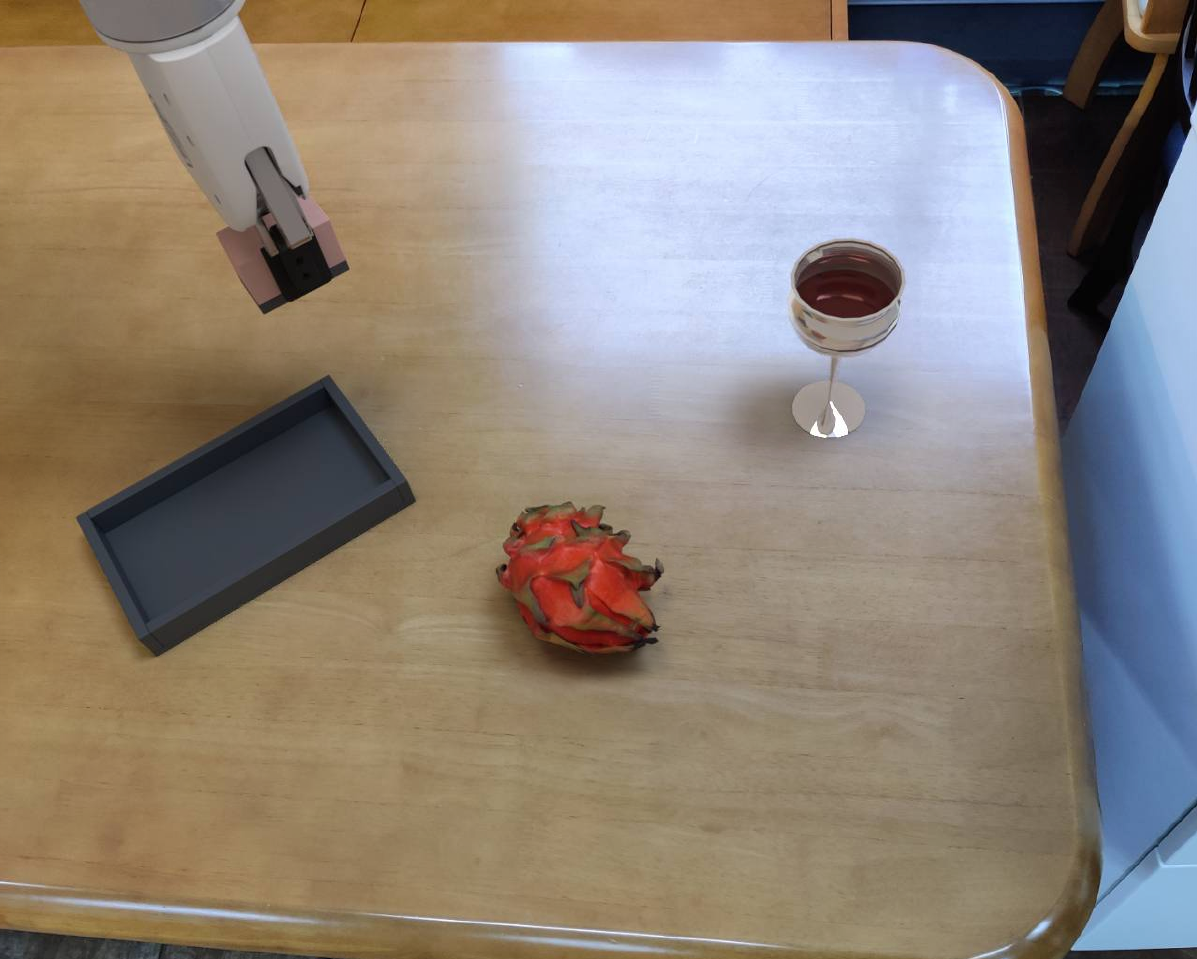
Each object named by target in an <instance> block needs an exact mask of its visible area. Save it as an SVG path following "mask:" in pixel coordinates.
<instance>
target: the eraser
mask: <svg viewBox="0 0 1197 959" xmlns="http://www.w3.org/2000/svg"><path fill="white" fill-rule="evenodd" d="M296 197H297V199H298V201H299V203H300V206H301V208H302V210H303V212H304V214H305V216H306V219H307V221H308V223H309V225H310V226H311V227H312V229H313V231H314V233H315V236H316V238H317V240H318V243H319V245H320V247H321V250H322V252H323V254H324V257H325V259H326V262H327V264H328V266H329V269H330V271H331V273H332V276H333V277H332V280H333V279H335V278H337V277H339V276H340V275H342V274H344V273H346V272H349V271H350V269H351V268H350V266H349V263H348V261H347V259H346V256H345V253H344V251H343V249H342V246H341V243H340V242H339V239H338V237H337V236H338V235H337V234H336V231H335V229H334V226H333V223H332V221H331V219H330V218H329V216H328V215H327V214H326V212H325V211H324V210H323V209H322V208H321V207H320V205H319V204H318V202H316V200H315V199H314V198H313V196H312V195H311V194H310V193H309V194H308V197H307V199H306V200H304V199H302V198H301V197H300V198H298V196H297V195H296ZM262 218H263V220H264V222H265V224H266V226H267V228H268V230H269V229H270V227H271V226H273V225H275V224H276V222H275V220H274V218H273V217H272V215H271V213H269V214H267V215H265V216H263V217H262ZM215 235H216V237H217V239H218V241H219V243H220V245H221V247H222V248H223V251H224V252H225V254H226V256H227V258H228V260H229V262H230V264H231V265H232V267H233V269H234V271H235V273H236V275H237V277H238V279H239V280H240V283H241V284H242V285H243V287H244V289H245V290H246V292H247V293H248V294H249V296H250V297H251V298H252V300H253V302H254V303H255V304H256V306H257V307H258V309H259V310H260V311H261V313H262V314H263V315H266V314H268V313H271V312H272V311H275V310H276V309H278V308H280V307H282V306H283V305H286V304H287V303H289V302H288V301H286V300H285V298H284V297H283V295H282V294H281V292H280V290H279V288H278V286H277V283H276V281H275V279H274V277H273V275H272V273H271V271H270V269H269V267H268V265H267V263H266V261H265V259H264V257H263V255H262V253H261V251H260V249H261V248H263V247H264V245H263V244H262V242H261V240H260V238H259V236H258V234H257V232H256V230H255V228H254V226H251V227H249V228H247V229H246V231H244V232H239V231H236V230H234V229H232V228H230V227H229V226H228V225H227V226H226V227H225V228H222V229H220V230H218V231H217V232H215Z"/></svg>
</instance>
